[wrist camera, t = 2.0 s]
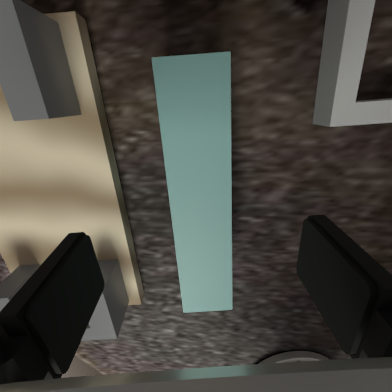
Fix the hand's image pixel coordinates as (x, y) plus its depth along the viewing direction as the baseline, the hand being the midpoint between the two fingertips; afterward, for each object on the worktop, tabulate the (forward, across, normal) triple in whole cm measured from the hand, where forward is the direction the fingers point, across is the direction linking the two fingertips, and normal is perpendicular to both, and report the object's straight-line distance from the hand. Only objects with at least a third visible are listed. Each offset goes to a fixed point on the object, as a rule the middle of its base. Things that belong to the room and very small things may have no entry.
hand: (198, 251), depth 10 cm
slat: (+11, 0, +1) cm, 11 cm away
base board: (+11, +13, +1) cm, 17 cm away
